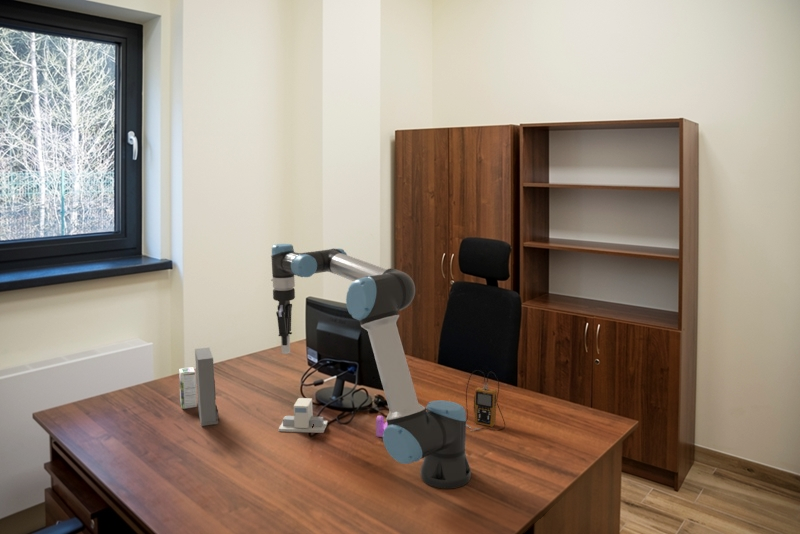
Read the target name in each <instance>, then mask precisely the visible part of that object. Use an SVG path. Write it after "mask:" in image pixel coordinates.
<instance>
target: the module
mask: <svg viewBox="0 0 800 534" xmlns="http://www.w3.org/2000/svg"><path fill="white" fill-rule="evenodd" d="M313 414H314V413H313V398H306V397H298V398H297V400H296V401H295V403H294V404H293V416H294V427H295V428H309V420H310V418H311V417H314V415H313Z"/></svg>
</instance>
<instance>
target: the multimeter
mask: <svg viewBox="0 0 800 534" xmlns="http://www.w3.org/2000/svg"><path fill="white" fill-rule="evenodd" d="M477 371H478V372H480V373H482V374H483V376H484V380H483V381H484V382H483V387H480V386H478V387H476V388H475V390H474V398H473V414H474V423H475V425H478V424H479V425H483V426H488V427H486V429H488V430H489V431H490V430H491V431H494V429H492V428H493V427H494V426H495V425H496V422H497V421H496V419H497V418H496V417H497V408H498V410H499V412H500V415H501V417H502V420H503V424H504V426H503V428H501V429H499V431H501V430H504V429H505V428H506V423H505V419H504V415H503V413H502V411H501V409H500V407H499V404H498V402H497V399H498V398H499V393H500V392H499V391H500V382H499V378H498V376H496V374H495V373H494V372H493V371H489V372H488V373H487V376H486V375H485V373H484V371H482V370H481V369H480V370H478V369H476V370H475V369H474V371H472V372H471V373H470V375H469V377H468V380H467V381H468V382H467V384H466V385H467V386H466V390H465V403H466V407H468V401H467V400H468V398H467V397H468V396H467V395H468V386H469V383H470V380H471V377H472V375H473V374H474V373H475V372H477ZM491 373H492V374H493V375H494V377H495V379H496V380H497V384H498V387H497V389H498V390H495V389H489V383H488V381H489V380H488V379H489V375H490V374H491ZM468 417H469V415H468V410H466V422H468ZM489 427H492V428H489ZM466 428H470V429H469V431H470V432H471V431H472V432H473V431H478V430H479V431H480V430H483V429H485V427H482V428H481V427H480V428H479V427H478V428H474V429H473V428H472V427H471V426H470V425H468V424H467V423H466Z"/></svg>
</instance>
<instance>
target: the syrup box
mask: <svg viewBox="0 0 800 534" xmlns="http://www.w3.org/2000/svg"><path fill="white" fill-rule="evenodd" d="M178 375H179V377H178V378H179V401H180V407H181V410H183V409H184V410H186V409H192V408H197V407H198V394H197V377H196V368H195V367H183V368H179V369H178Z"/></svg>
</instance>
